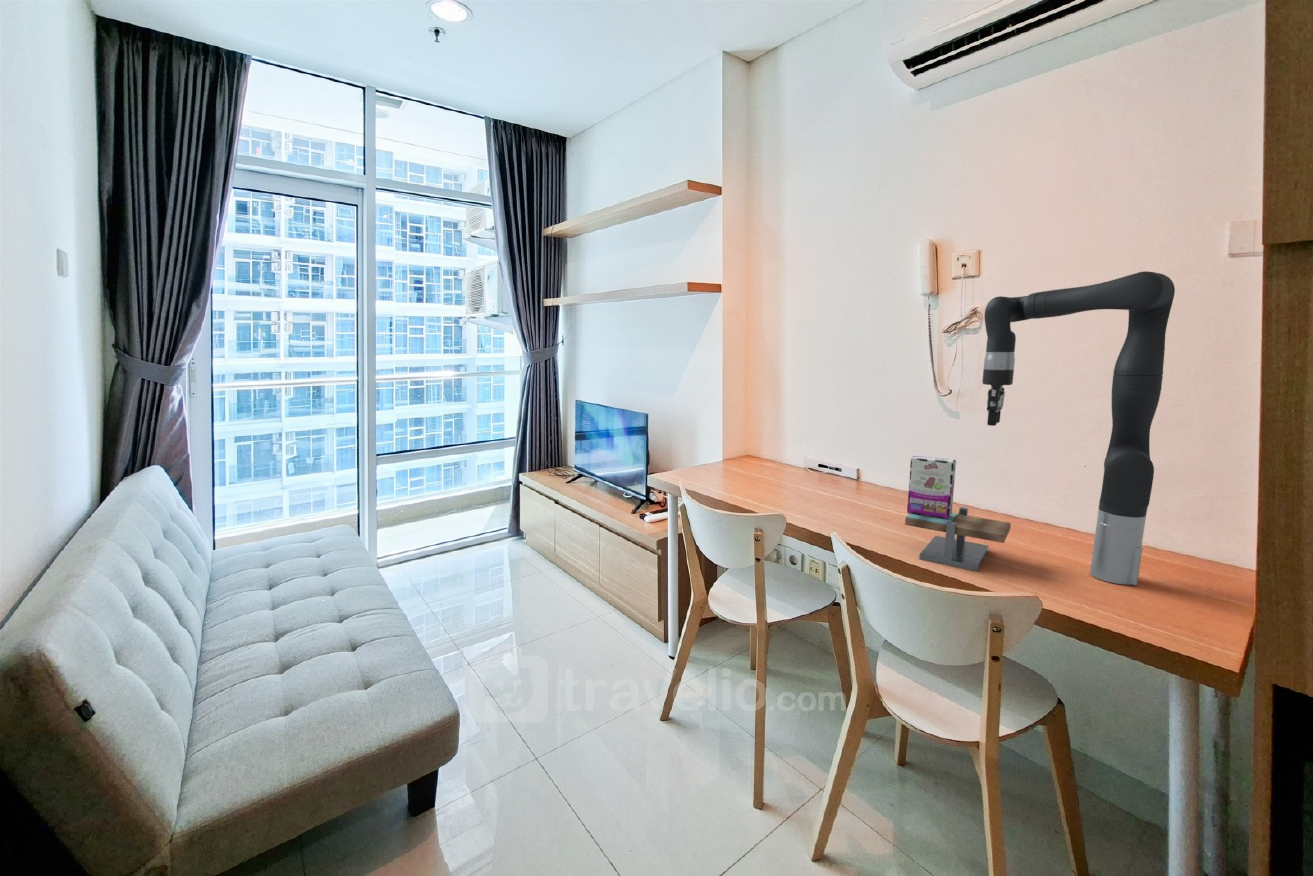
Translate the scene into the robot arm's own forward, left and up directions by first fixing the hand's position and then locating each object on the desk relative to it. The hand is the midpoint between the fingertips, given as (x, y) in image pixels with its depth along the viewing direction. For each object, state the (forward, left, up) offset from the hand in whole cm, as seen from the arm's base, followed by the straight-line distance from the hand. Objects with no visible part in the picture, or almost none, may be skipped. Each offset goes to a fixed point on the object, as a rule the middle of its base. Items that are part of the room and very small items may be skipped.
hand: (993, 424), depth 165 cm
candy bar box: (+12, +18, -26) cm, 33 cm away
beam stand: (+4, +18, -36) cm, 40 cm away
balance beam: (+4, +18, -27) cm, 32 cm away
